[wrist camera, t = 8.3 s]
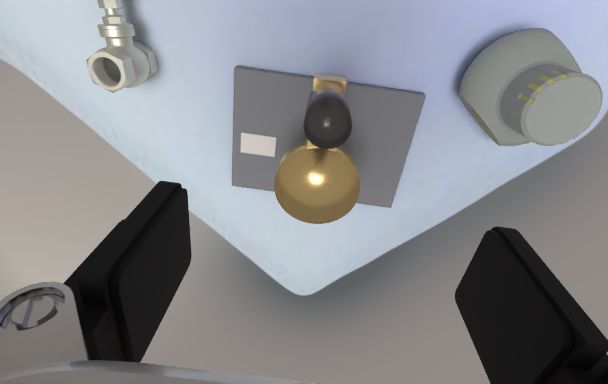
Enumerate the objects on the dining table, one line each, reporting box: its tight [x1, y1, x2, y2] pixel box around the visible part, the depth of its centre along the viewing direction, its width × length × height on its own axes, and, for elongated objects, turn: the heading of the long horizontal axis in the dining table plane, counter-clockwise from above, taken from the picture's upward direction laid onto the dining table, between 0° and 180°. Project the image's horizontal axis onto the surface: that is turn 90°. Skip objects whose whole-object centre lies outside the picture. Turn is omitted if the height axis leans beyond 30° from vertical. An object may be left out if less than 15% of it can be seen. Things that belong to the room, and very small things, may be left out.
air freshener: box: [458, 28, 602, 146], centre depth 30 cm, size 11×8×10 cm
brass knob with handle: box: [274, 74, 360, 224], centre depth 28 cm, size 8×14×8 cm, turn 175°
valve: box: [87, 0, 158, 93], centre depth 31 cm, size 7×7×12 cm
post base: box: [232, 66, 425, 208], centre depth 36 cm, size 14×20×7 cm
